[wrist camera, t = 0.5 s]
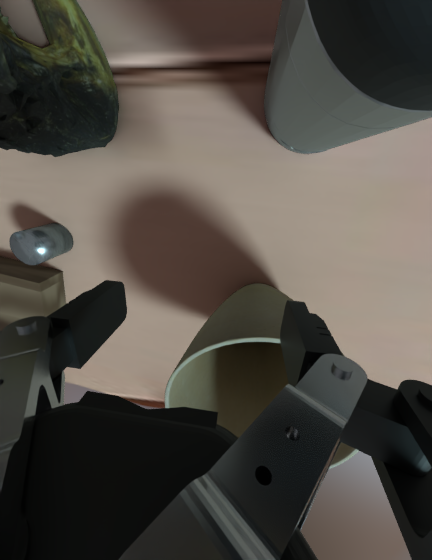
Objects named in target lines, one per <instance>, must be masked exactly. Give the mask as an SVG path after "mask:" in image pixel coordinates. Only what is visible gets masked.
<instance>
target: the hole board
mask: <svg viewBox="0 0 432 560" xmlns="http://www.w3.org/2000/svg"><path fill="white" fill-rule="evenodd" d="M65 304H66V299H65V290H64V281H63V272H62V271H59V270H55V269H51V268H47V267H43V266H38V265H28V264H25V263H23V262H22V261H18V260H14V259H10V258H6V257H2V256H0V331H2V330H3V329H4V327H6V326H7V325H9V324H10V323H12V322H14V321H17V320H20V319H23V318H27V317H32V316H44V317H47V316H49V315H50V314H52V313H53V312H55V311H56V310H58V309H59V308H61V307H62V306H64V305H65Z"/></svg>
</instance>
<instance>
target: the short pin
mask: <svg viewBox="0 0 432 560" xmlns="http://www.w3.org/2000/svg"><path fill="white" fill-rule="evenodd" d="M10 247H11V250H12V252H13V253H14V255H15V256H16V257H17V258H18V259H19V260H20V261H22V262H23V263H25V264H28V265H37V264H40V263H42V262H45V261H47V260H49V259H52V258H54V257H56V256H59V255H61V254H63V253H66V252H68V251H70V250H71V249H72V247H73V238H72V235H71V233H70V232H69V231H68V230H67V228H65V227H64V226H63V225H61V224H58V223H51V224H47V225H43V226H39V227H35V228H31V229H27V230H23V231H19V232H15V233H13V234H12V235H11V237H10Z"/></svg>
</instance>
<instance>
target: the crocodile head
mask: <svg viewBox="0 0 432 560" xmlns="http://www.w3.org/2000/svg"><path fill="white" fill-rule="evenodd" d="M33 3H34V5H35V8H36V10H37V13H38V15H39V18H40V20H41V23H42V25H43V28H44V30H45V33H46V35H47V38H48V40H49V44H50V45H49V46H47V47H45V48H43V49H41V48H39V47H37V46H34V45H32V44H30V43H28V42H25V41H23V40H21V39H19V38H18V37H17V36H16V34H15V32H14V31H13V29H12V28H11V27H10V26H9V24H8V17H3V15H2V14H1V7H0V148H3V149H5V150H9V149H16V150H18V151H22V152H26V153H30V152H33V153H37V154H42V155H49V154H51V155H53V156H54V157H58V156H62V155H65V154H68V153H73V152H78V151H81V150H86V149H90V148H96V147H105V146H106V145H107V143H108V142H110V141H111V140H112V138H113V137H114V134H115V131H116V129H117V122H118V110H119V103H118V94H117V89H116V85H115V83H114V80H113V75H112V72H111V69H110V66H109V64H108V61H107V58H106V56H105V53H104V51H103V49H102V47H101V45H100V43H99V41H98V39H97V37H96V34H95V32H94V30H93V28H92V27H91V25H90V23H89V21H88V19H87V18H86V16H85V14H84V12H83V11H82V9H81V7H80V6H79V4H78V3H77V1H76V0H33Z"/></svg>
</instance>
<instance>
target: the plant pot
mask: <svg viewBox="0 0 432 560" xmlns="http://www.w3.org/2000/svg"><path fill="white" fill-rule="evenodd" d="M287 300H290V301H293V300H292V299H291V298H289V297H288V296H287V295H285V294H284V293H282V292H281V291H279V290H277V289H275V288H273V287H271V286H269V285H266V284H258V283H257V284H250V285H247V286H244V287H242V288H241V289H239V290H238V291H236V292H235V293H234V294H232V295H231V296H230V297H229V298H228V299H226V300H225V301H224V302H223V303H222V304H221V305H220V306H219V307H218V309H217V310H216V311H215V312H214V313H213V314H212V315H211V316H210V318H209V319H208V320H207V321H206V323H205V324H204V325H203V327H202V328H201V329H200V331H199V332H198V333H197V335H196V336H195V338H194V339H193V341H192V342H191V344H190V346H189V347H188V349H187V350H186V352H185V354H184V355H183V357H182V358H181V360H180V362H179V363H178V365H177V367H176V368H175V370H174V372H173V373H172V375H171V377H170V379H169V381H168V383H167V387H166V391H165V408H175V407H189V408H195V409H202V410H208V411H214V412H218V418H217V424H218V425H220V426H222V427H224V428H226V429H227V430H229V431H231V432H232V433H233V434H234V435H236V436H237V437H238V438H239V437H240V436H241V435H242V434H243V433H244V432H245V430H246V429H247V428H248V427H249V426H250V425H251V424H252V423H253V422H254V420H255V419H256V418H257V417H258V416H259V415H260V414H261V413H262V412H263V410H264V409H265V408H266V407H267V406H268V405H269V404H270V403H271V402H272V401H273V399H274V398H275V397H276V396H277V395H278V394H279V393H280V392H281V391H282V389H283V388H284V387H285V386H286V385H288V384H289V383H288V378H287V373H286V368H285V363H284V358H283V353H282V348H281V343H280V330H281V324H282V319H283V314H284V309H285V305H286V302H287ZM341 353H342V352H341ZM342 355H343V353H342ZM343 356H344V355H343ZM344 357H345V356H344ZM358 451H359V450H357V449H355V448H352V447H350V446H348V445H346V444H344V443H342V442H341V444H340V446H339V448H338V450H337V452H336V455H335V457H334V459H333V461H332V463H331V465H330V467H329V469H331V468H333V467H336V466H338V465H340V464H342V463H343V462H345V461H347V460H348V459H350V458H351V457H353V456H354V455H355V454H356V453H357V452H358Z"/></svg>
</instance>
